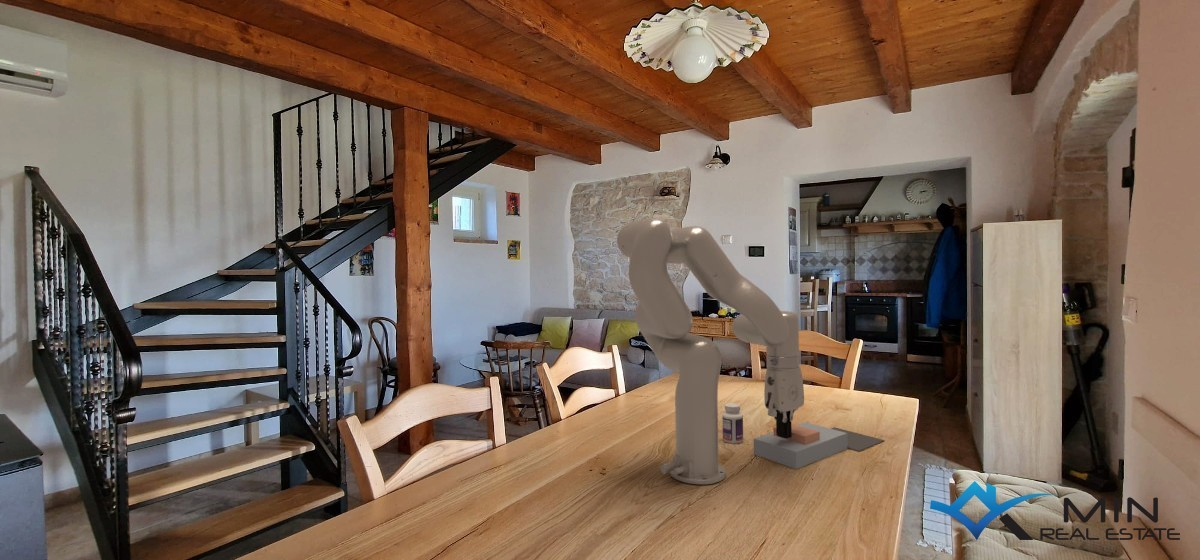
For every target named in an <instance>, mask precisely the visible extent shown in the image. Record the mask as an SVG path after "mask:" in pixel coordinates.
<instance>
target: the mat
mask: <svg viewBox="0 0 1200 560" xmlns="http://www.w3.org/2000/svg"><path fill="white" fill-rule="evenodd" d="M830 429H833V430H837V431H841V432H845V433H847V449H846V450H852V451H855V452H858V453H860V452H862V451H864V450H867V449H870V448H872V447H874V446H876V445H879V444H883V443H884V442H885V440H886V439H881V438H878V437H874V436H870V435H867V434H863V433H858V432H855V431H850V430H847V429H842V428H839V427H835V426H834V427H832V428H830Z"/></svg>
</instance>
